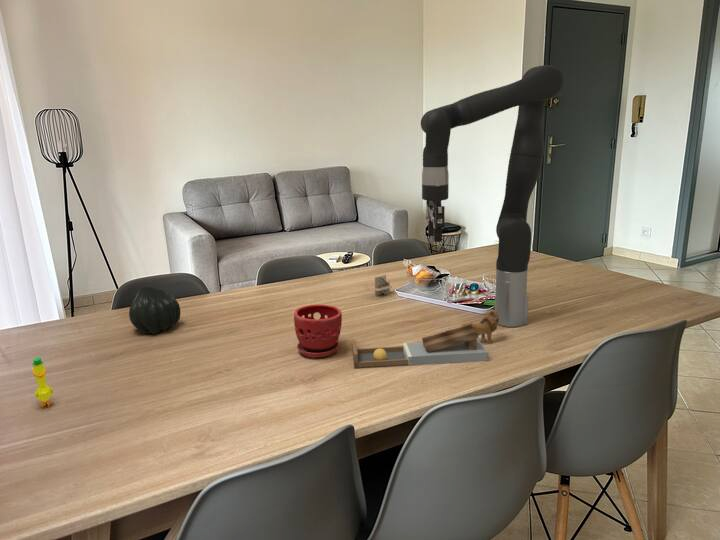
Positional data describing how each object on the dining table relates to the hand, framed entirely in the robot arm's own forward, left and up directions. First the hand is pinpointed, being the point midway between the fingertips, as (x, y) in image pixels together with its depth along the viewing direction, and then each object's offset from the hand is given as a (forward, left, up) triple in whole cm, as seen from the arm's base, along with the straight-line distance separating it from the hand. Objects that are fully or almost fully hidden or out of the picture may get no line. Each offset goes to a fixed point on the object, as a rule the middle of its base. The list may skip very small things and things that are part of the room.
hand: (434, 238), depth 159 cm
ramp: (0, +20, -26) cm, 33 cm away
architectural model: (+12, -36, -29) cm, 48 cm away
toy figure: (+99, +34, -28) cm, 108 cm away
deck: (+2, +20, -28) cm, 35 cm away
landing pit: (+19, +20, -28) cm, 39 cm away
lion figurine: (-10, +12, -28) cm, 32 cm away
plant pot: (+35, +12, -28) cm, 47 cm away
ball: (+19, +22, -26) cm, 39 cm away
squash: (+87, -13, -28) cm, 92 cm away
